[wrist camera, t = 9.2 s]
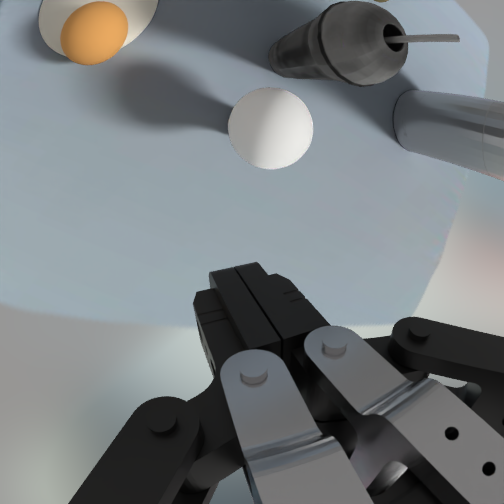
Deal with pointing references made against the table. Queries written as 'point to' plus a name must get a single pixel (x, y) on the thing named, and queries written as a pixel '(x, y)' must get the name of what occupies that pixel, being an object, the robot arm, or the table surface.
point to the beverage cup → (347, 46)
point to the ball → (94, 33)
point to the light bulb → (270, 128)
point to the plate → (65, 3)
